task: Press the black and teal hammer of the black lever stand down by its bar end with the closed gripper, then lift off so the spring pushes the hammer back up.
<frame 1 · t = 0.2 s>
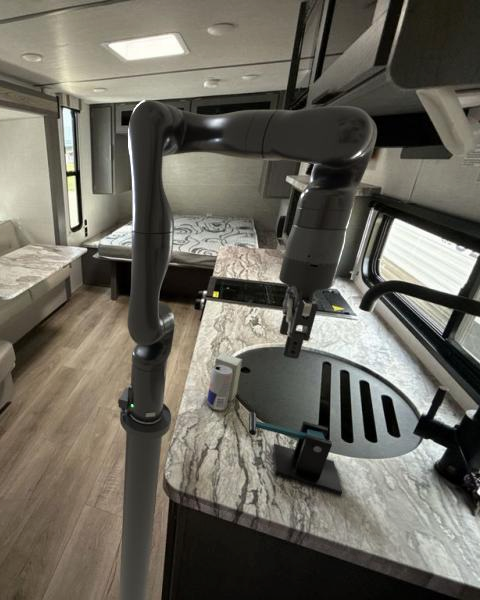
hand: (287, 344, 55), 32 cm above the worktop, tool pointing down, fingers open, 8 cm apart
energy drink: (216, 405, 87), on the worktop
cosmetic box: (223, 394, 91), on the worktop
black lever stand: (304, 469, 68), on the worktop
black and teal hammer: (284, 431, 67), point 9 cm above the worktop, hinge at -2.4°
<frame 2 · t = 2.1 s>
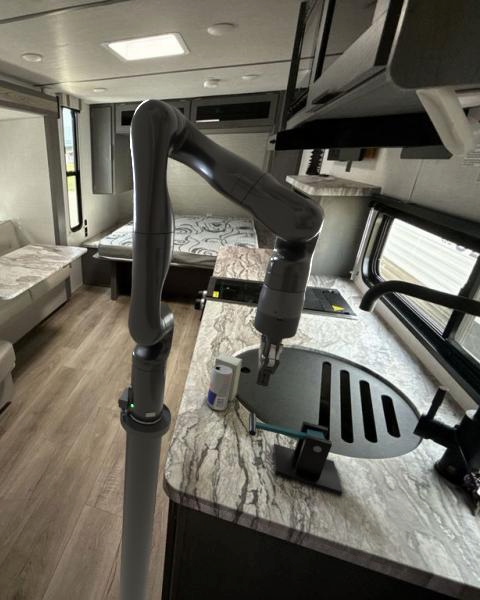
hand: (261, 383, 65), 19 cm above the worktop, tool pointing down, fingers closed
black and teal hammer: (284, 431, 67), point 9 cm above the worktop, hinge at -3.3°
everything else where it was.
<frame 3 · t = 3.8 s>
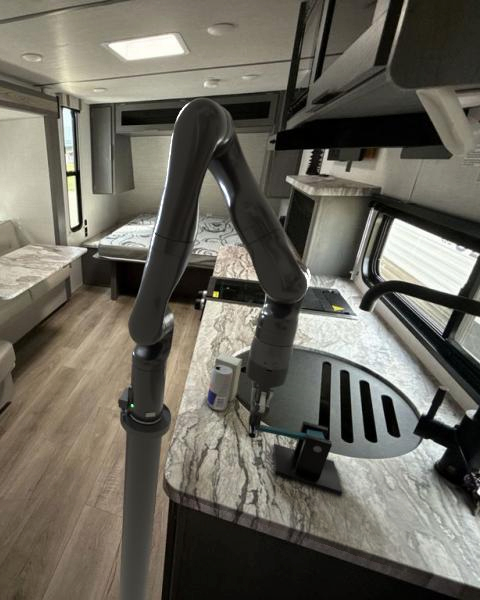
hand: (253, 423, 69), 8 cm above the worktop, tool pointing down, fingers closed
black and teal hammer: (284, 432, 67), point 8 cm above the worktop, hinge at -6.4°, touching gripper
everything else where it was.
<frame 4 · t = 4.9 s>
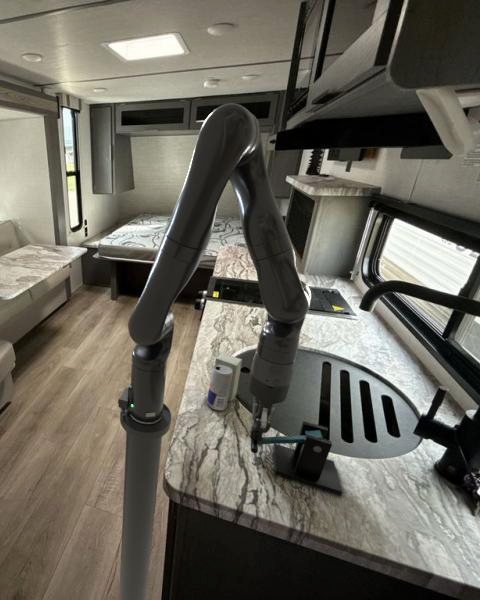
hand: (255, 437, 70), 5 cm above the worktop, tool pointing down, fingers closed
black and teal hammer: (285, 439, 67), point 7 cm above the worktop, hinge at -25.8°, touching gripper
everything else where it was.
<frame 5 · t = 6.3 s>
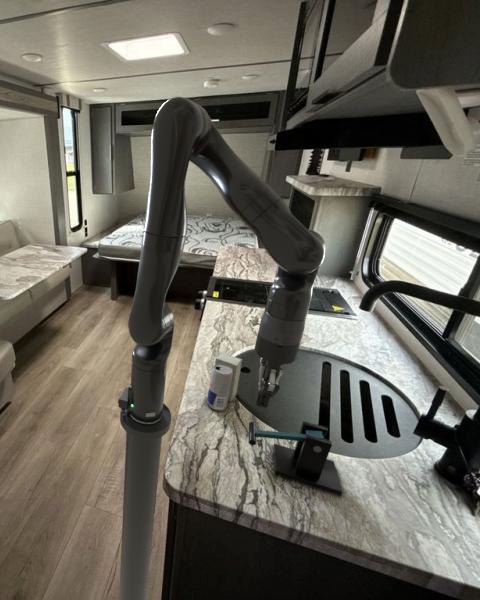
hand: (261, 404, 67), 14 cm above the worktop, tool pointing down, fingers closed
black and teal hammer: (284, 435, 67), point 7 cm above the worktop, hinge at -15.5°
everything else where it was.
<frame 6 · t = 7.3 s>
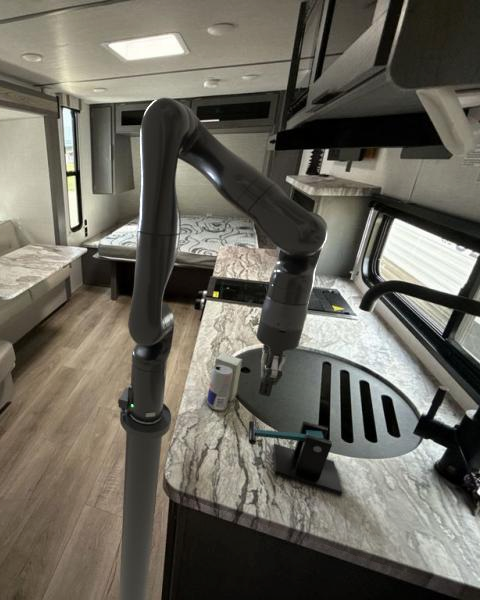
hand: (263, 393, 66), 17 cm above the worktop, tool pointing down, fingers closed
black and teal hammer: (284, 435, 67), point 8 cm above the worktop, hinge at -14.5°
everything else where it was.
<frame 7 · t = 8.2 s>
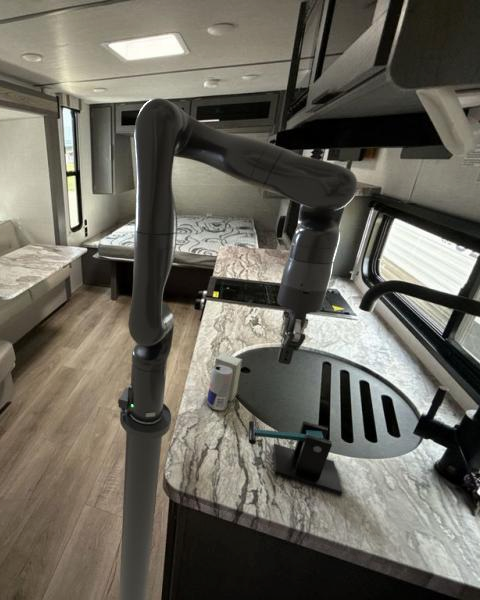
hand: (283, 361, 64), 24 cm above the worktop, tool pointing down, fingers closed
nothing on the worktop moved.
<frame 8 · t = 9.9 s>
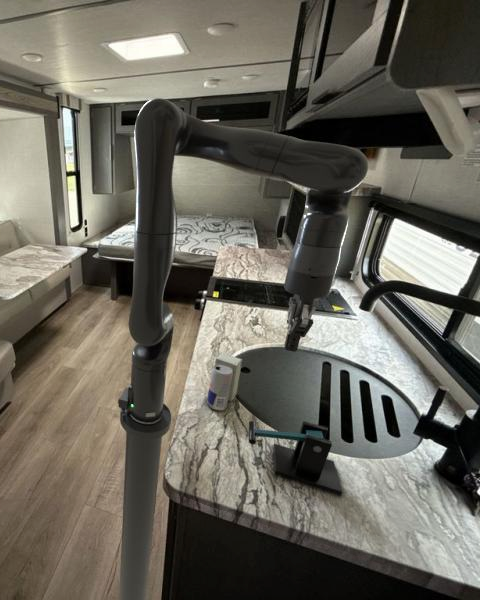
hand: (290, 349, 63), 27 cm above the worktop, tool pointing down, fingers closed
nothing on the worktop moved.
at the end: black and teal hammer reached -26° during the clip, -14° at the end; black and teal hammer at -14° (first picture: -2°) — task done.
